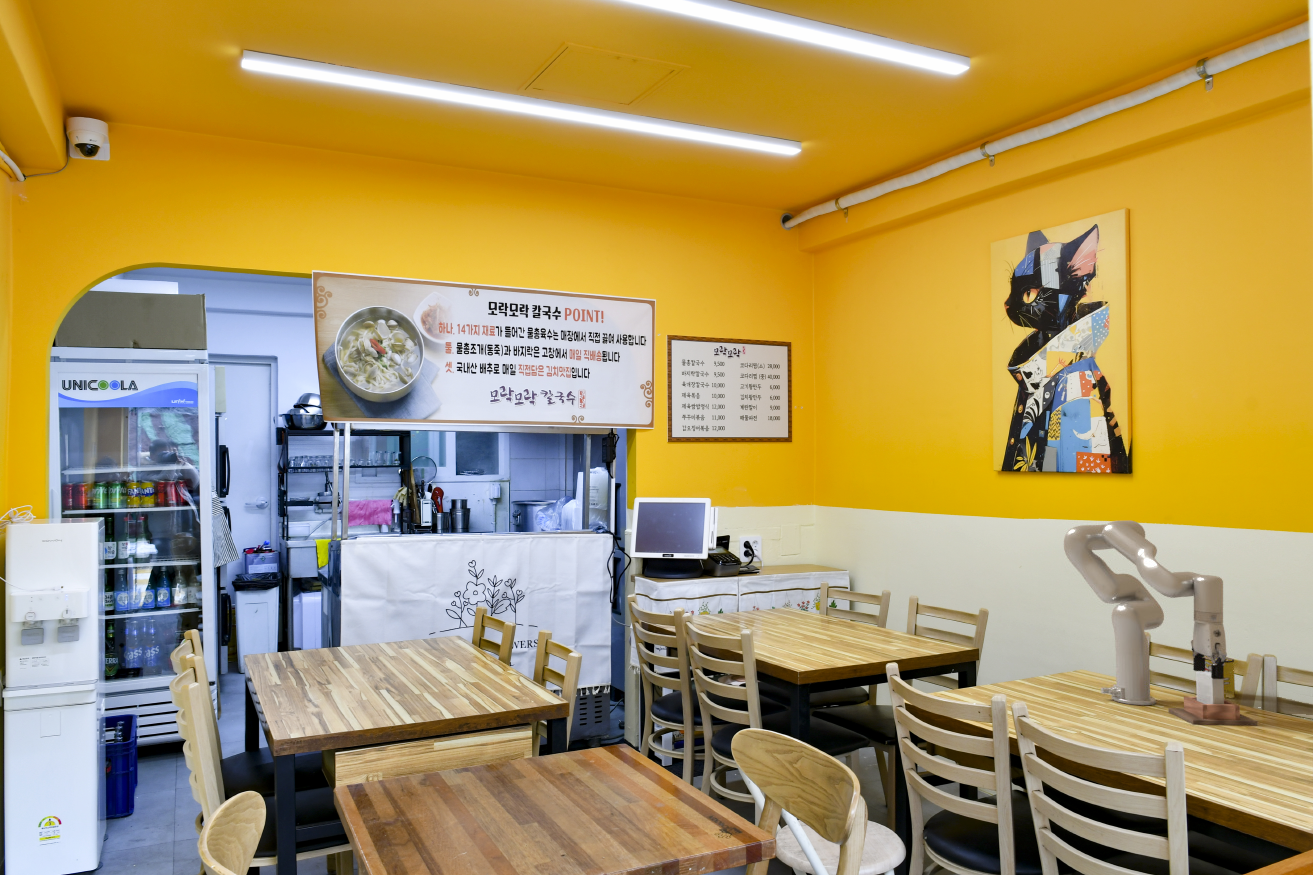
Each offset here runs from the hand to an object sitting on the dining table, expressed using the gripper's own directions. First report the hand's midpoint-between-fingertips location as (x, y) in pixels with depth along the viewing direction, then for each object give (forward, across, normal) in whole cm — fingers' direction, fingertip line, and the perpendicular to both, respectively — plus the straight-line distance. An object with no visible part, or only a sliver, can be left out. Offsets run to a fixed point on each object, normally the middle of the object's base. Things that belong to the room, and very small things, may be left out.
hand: (1208, 674), depth 270 cm
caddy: (+13, -1, -1) cm, 13 cm away
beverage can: (+14, +30, -20) cm, 38 cm away
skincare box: (+12, 0, 0) cm, 12 cm away
